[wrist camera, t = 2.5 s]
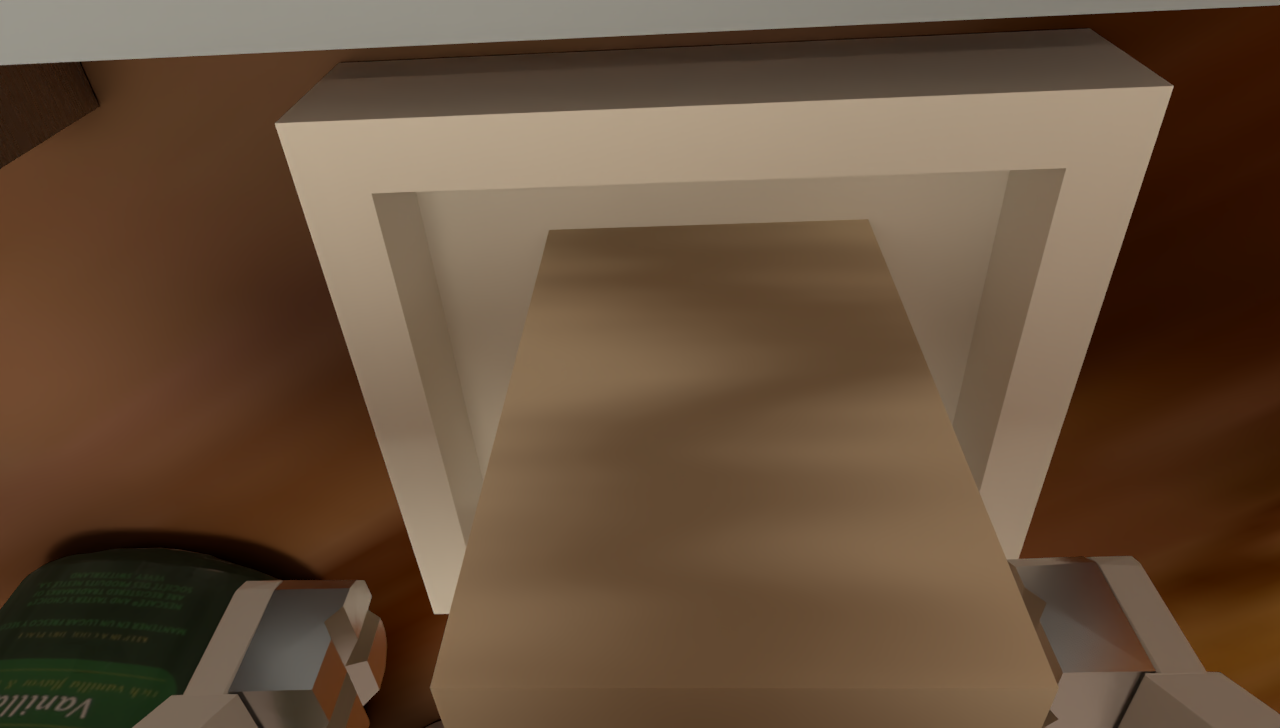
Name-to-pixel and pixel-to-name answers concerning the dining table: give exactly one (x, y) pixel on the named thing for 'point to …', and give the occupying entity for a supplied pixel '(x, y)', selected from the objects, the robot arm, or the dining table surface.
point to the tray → (723, 218)
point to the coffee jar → (109, 634)
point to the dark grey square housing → (39, 104)
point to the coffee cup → (436, 725)
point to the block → (731, 504)
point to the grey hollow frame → (457, 21)
